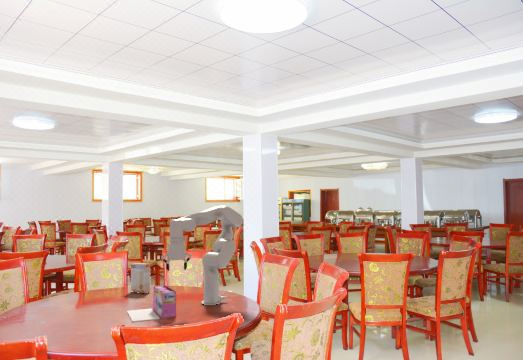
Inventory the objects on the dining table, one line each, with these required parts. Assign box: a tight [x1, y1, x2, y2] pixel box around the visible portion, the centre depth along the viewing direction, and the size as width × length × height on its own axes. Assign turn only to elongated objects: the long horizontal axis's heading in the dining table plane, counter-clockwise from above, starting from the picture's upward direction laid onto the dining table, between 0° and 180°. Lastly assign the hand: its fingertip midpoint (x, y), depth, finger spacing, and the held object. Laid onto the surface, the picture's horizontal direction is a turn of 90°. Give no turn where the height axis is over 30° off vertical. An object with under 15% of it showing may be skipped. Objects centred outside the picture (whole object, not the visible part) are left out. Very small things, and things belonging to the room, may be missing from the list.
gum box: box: [152, 285, 177, 319], centre depth 238 cm, size 24×8×14 cm, turn 27°
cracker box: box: [130, 262, 151, 294], centre depth 302 cm, size 14×6×21 cm, turn 58°
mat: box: [126, 307, 161, 323], centre depth 233 cm, size 14×26×1 cm, turn 24°
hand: (176, 270), depth 243 cm, fingers open, 9 cm apart
